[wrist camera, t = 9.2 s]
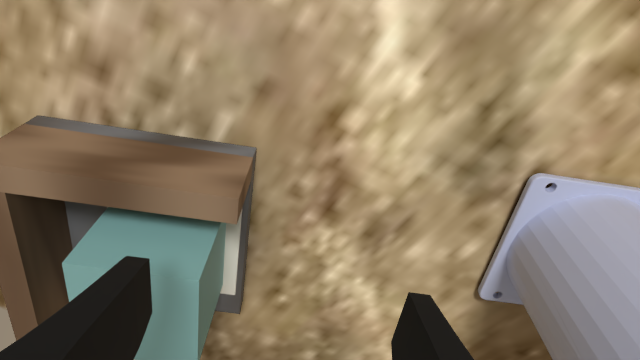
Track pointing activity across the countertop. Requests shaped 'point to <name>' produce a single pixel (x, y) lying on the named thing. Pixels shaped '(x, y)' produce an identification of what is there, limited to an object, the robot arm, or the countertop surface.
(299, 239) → the countertop surface
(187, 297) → the teal block
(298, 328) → the countertop surface
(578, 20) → the countertop surface
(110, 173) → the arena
